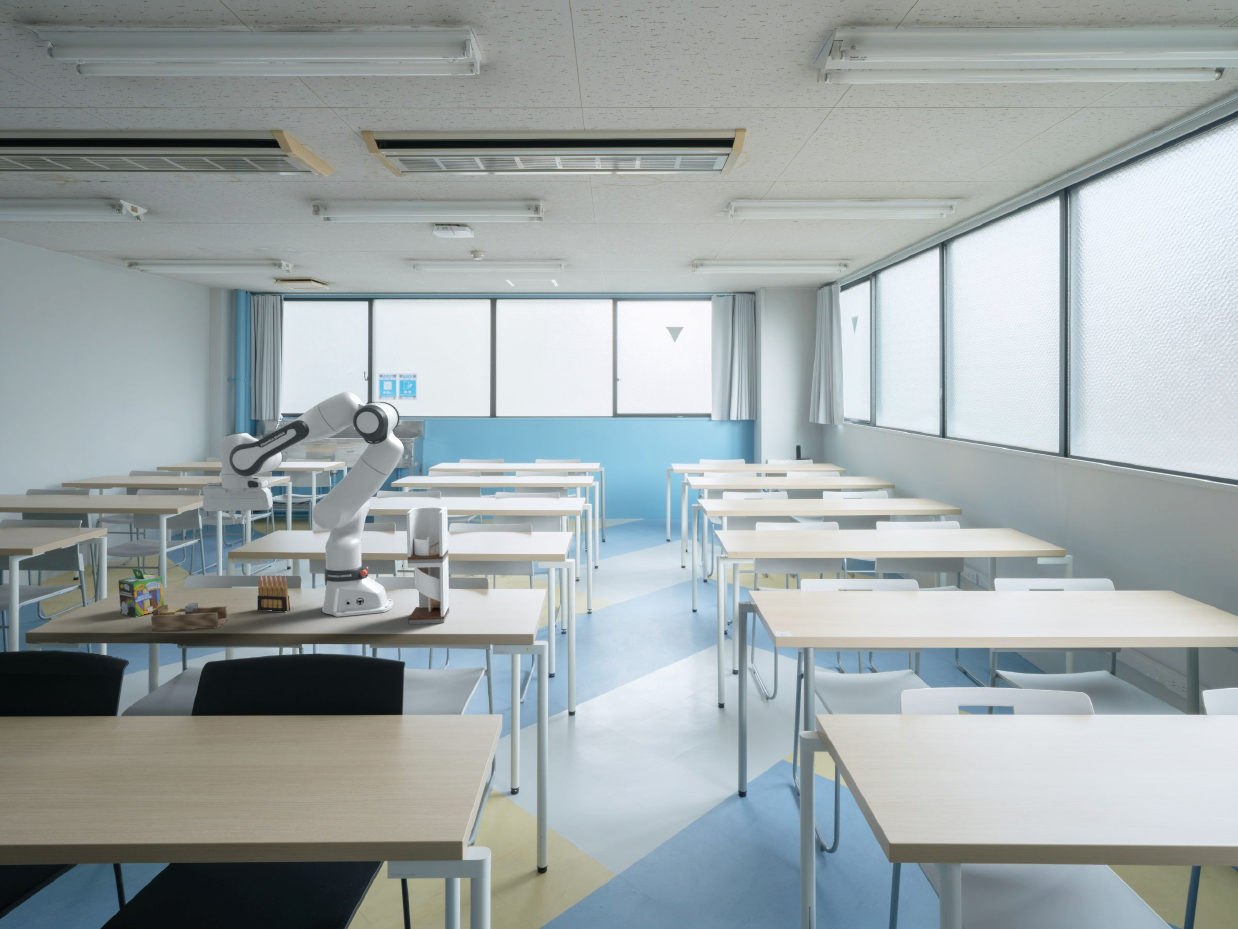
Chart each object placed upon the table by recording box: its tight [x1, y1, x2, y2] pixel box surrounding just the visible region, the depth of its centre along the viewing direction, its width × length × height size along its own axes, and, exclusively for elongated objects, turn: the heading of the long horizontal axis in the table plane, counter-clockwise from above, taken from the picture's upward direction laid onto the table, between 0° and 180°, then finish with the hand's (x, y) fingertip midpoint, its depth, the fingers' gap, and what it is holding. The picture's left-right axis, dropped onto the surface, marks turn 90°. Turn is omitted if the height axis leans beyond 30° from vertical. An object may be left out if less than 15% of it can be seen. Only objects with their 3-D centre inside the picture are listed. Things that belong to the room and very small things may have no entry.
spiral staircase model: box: [406, 506, 450, 625], centre depth 217 cm, size 11×11×35 cm
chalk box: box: [118, 567, 165, 618], centre depth 224 cm, size 9×9×15 cm
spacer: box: [160, 607, 182, 615], centre depth 209 cm, size 4×4×4 cm
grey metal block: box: [177, 602, 199, 614], centre depth 210 cm, size 5×4×6 cm
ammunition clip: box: [257, 574, 291, 612], centre depth 226 cm, size 11×2×12 cm, turn 82°
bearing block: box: [150, 604, 228, 632], centre depth 210 cm, size 18×8×6 cm, turn 100°
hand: (238, 524), depth 223 cm, fingers closed
